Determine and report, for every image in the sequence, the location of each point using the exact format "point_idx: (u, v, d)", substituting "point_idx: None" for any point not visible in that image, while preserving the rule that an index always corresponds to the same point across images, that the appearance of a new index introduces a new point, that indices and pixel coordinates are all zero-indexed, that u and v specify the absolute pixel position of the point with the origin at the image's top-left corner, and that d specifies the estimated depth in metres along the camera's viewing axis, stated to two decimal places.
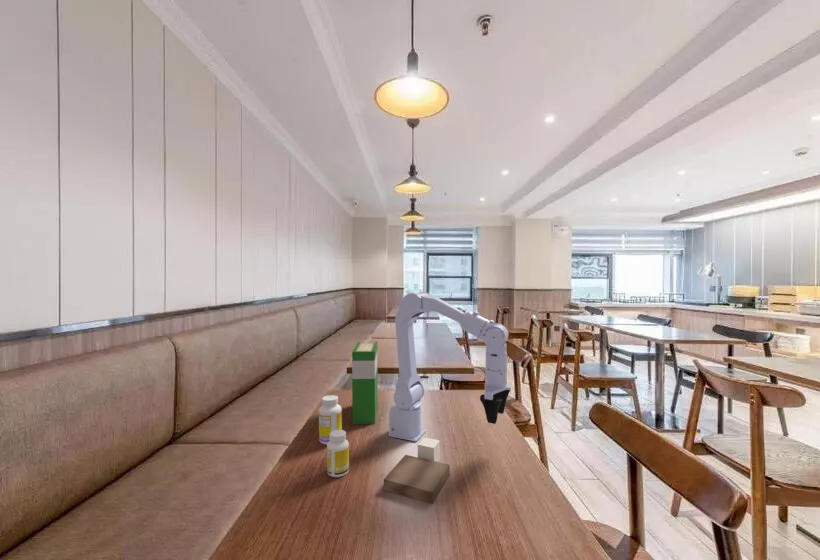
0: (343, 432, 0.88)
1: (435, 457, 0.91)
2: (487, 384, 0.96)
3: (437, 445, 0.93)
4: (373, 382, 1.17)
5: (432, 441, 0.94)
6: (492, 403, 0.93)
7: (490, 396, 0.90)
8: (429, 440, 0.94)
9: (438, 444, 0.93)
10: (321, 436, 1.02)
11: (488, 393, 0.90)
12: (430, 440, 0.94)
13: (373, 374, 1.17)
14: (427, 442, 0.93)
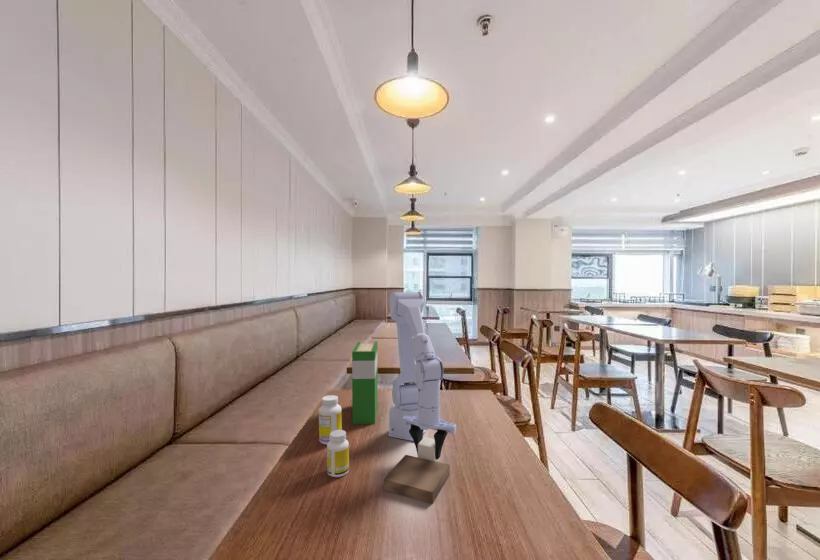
0: (343, 432, 0.88)
1: None
2: None
3: None
4: (373, 382, 1.17)
5: (432, 441, 0.94)
6: None
7: None
8: (429, 439, 0.94)
9: None
10: (321, 436, 1.02)
11: None
12: (430, 440, 0.94)
13: (373, 374, 1.17)
14: (427, 441, 0.93)
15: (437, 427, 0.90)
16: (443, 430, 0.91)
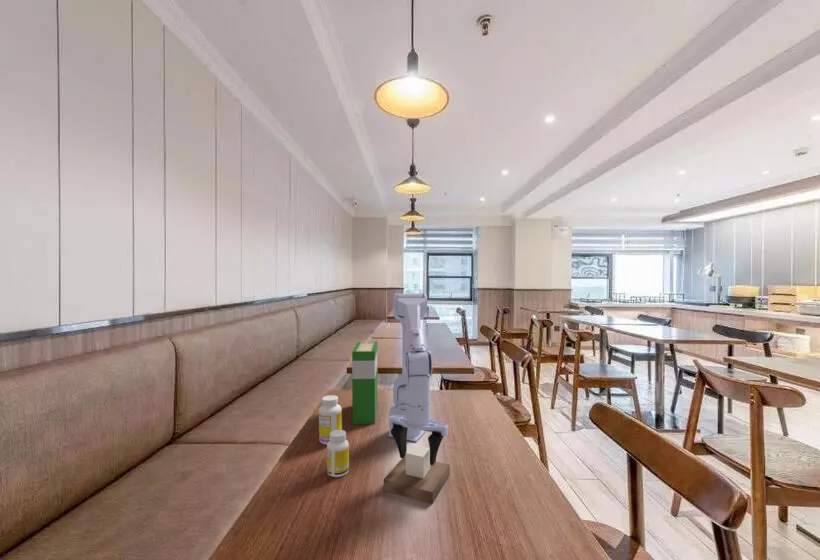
0: (343, 432, 0.88)
1: (425, 467, 0.82)
2: None
3: (427, 453, 0.83)
4: (373, 382, 1.17)
5: (422, 449, 0.84)
6: None
7: None
8: (418, 447, 0.85)
9: (428, 452, 0.84)
10: (321, 436, 1.02)
11: None
12: (420, 448, 0.85)
13: (373, 374, 1.17)
14: (416, 450, 0.84)
15: (427, 428, 0.80)
16: (439, 432, 0.81)
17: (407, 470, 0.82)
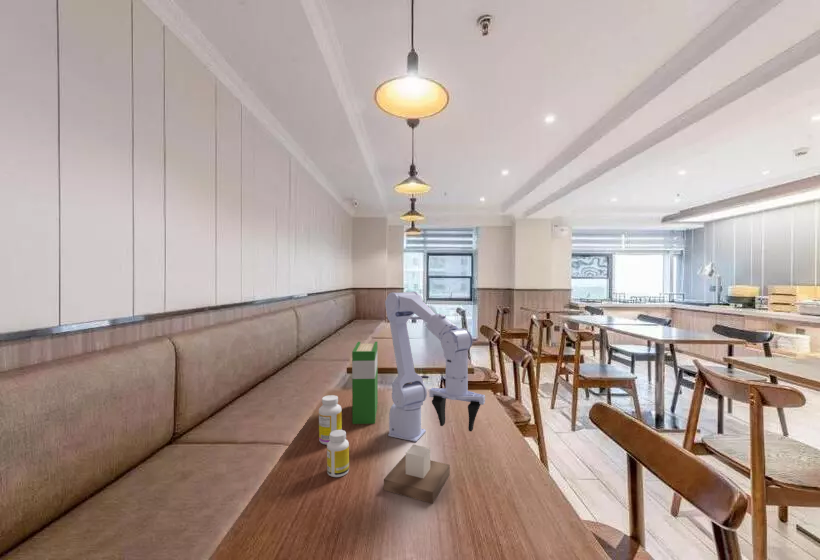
0: (343, 432, 0.88)
1: (425, 467, 0.82)
2: None
3: (427, 453, 0.83)
4: (373, 382, 1.17)
5: (422, 449, 0.84)
6: None
7: None
8: (418, 447, 0.85)
9: (428, 452, 0.84)
10: (321, 436, 1.02)
11: None
12: (420, 448, 0.85)
13: (373, 374, 1.17)
14: (416, 450, 0.84)
15: (466, 397, 0.89)
16: (477, 401, 0.89)
17: (407, 470, 0.82)
